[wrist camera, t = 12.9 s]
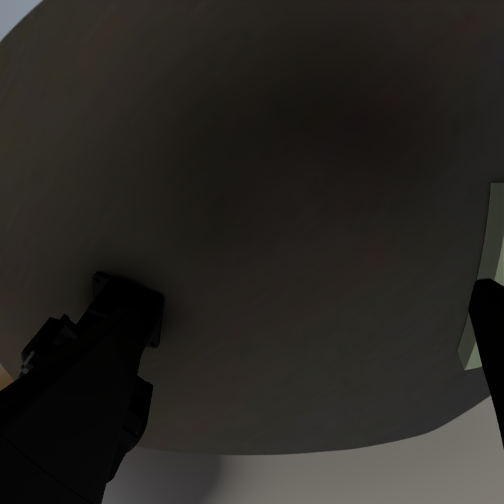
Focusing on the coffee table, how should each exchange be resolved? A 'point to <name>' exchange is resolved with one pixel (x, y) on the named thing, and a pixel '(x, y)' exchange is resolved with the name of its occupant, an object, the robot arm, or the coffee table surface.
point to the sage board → (487, 269)
